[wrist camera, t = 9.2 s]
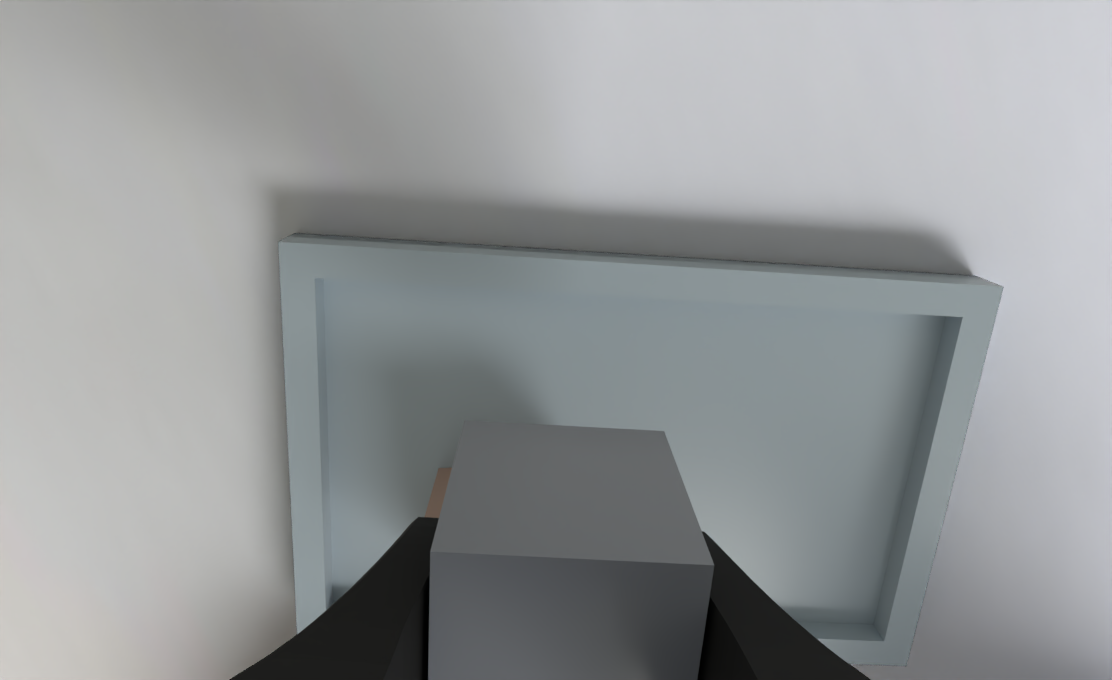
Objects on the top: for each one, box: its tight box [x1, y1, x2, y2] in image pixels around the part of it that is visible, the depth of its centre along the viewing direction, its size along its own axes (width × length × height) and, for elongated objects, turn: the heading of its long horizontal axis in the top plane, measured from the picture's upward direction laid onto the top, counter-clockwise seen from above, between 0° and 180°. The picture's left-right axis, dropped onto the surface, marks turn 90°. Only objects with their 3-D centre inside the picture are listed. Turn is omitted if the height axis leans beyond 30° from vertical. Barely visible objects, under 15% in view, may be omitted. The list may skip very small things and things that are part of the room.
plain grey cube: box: [428, 420, 714, 680], centre depth 11 cm, size 4×4×4 cm
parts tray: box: [278, 233, 1003, 666], centre depth 19 cm, size 17×11×1 cm, turn 86°
